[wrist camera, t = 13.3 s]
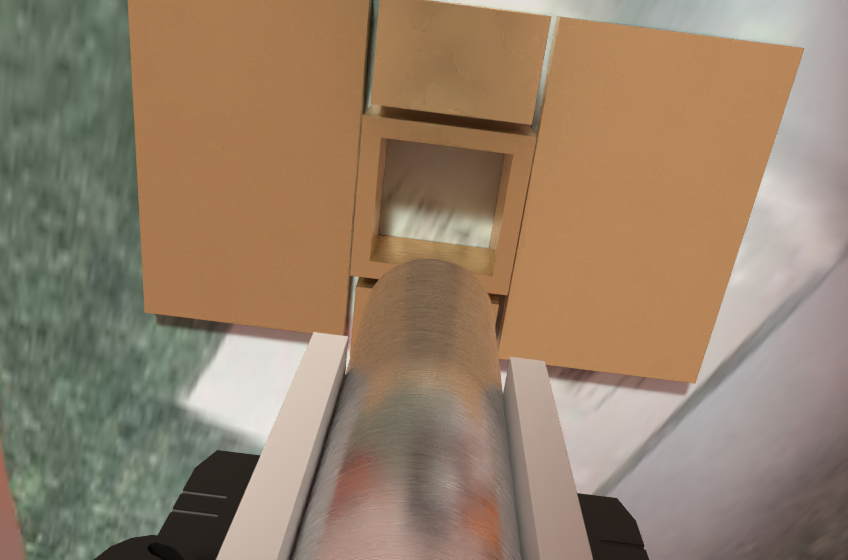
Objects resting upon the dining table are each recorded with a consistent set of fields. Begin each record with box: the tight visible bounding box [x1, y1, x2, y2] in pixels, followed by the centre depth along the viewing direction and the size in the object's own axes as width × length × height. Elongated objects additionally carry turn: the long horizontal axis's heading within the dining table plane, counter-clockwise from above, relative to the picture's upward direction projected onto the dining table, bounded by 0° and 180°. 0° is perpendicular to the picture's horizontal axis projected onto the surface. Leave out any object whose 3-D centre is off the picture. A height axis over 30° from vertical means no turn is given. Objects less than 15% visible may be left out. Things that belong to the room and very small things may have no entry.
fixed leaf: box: [128, 0, 537, 357], centre depth 30 cm, size 16×17×4 cm
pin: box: [291, 258, 522, 560], centre depth 12 cm, size 4×4×14 cm
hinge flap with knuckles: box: [371, 0, 804, 383], centre depth 29 cm, size 16×17×4 cm
